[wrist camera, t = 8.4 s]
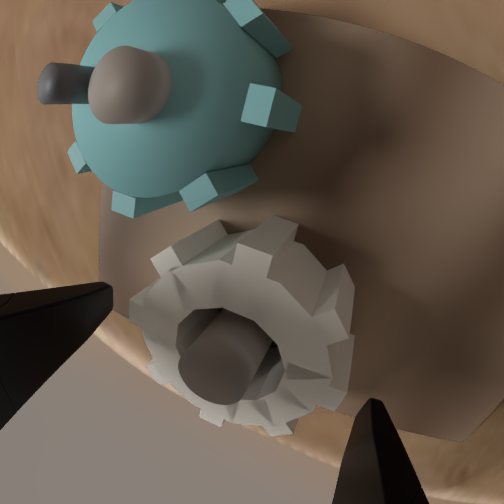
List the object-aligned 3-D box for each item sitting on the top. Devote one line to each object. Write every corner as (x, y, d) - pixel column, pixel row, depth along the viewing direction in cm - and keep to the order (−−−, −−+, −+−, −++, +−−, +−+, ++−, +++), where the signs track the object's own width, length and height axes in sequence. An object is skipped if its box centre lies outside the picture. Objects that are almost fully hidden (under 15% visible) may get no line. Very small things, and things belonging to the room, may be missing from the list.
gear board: (598, 169, 5) (673, 194, 1) (459, 428, 11) (467, 507, 7) (150, 17, 10) (62, -14, 5) (111, 294, 16) (44, 339, 11)
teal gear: (324, 17, 7) (290, -65, 3) (269, 226, 10) (203, 285, 6) (142, 10, 9) (55, -20, 5) (109, 174, 12) (17, 196, 8)
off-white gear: (315, 403, 12) (299, 457, 9) (169, 341, 14) (130, 379, 11) (391, 257, 9) (399, 302, 6) (188, 188, 11) (134, 205, 8)
